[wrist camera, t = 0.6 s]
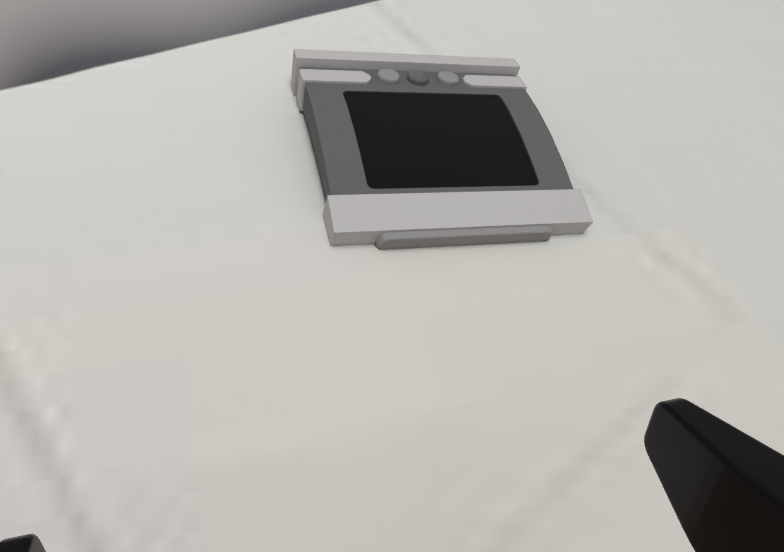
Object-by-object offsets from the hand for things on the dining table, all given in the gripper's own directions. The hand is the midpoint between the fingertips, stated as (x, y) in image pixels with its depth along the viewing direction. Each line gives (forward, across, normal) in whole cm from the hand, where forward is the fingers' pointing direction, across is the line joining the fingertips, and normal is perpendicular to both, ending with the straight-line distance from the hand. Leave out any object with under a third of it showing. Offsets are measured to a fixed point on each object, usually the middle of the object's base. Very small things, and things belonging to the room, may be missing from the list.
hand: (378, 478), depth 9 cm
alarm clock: (+34, -12, +13) cm, 38 cm away
